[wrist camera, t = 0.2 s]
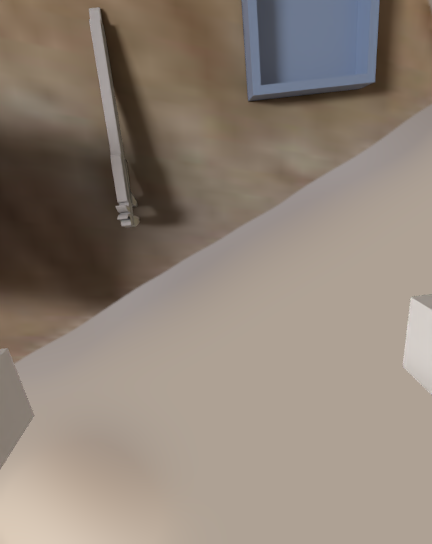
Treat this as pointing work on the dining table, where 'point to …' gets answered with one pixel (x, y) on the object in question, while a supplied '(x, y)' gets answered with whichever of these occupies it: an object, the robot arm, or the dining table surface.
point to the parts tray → (309, 46)
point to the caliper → (112, 123)
